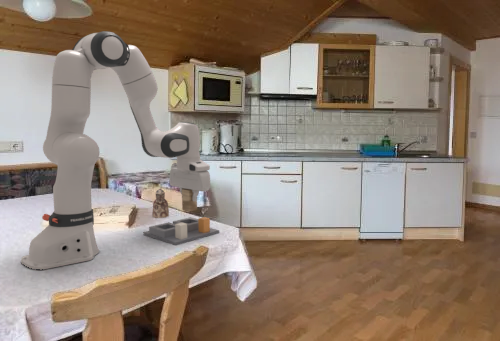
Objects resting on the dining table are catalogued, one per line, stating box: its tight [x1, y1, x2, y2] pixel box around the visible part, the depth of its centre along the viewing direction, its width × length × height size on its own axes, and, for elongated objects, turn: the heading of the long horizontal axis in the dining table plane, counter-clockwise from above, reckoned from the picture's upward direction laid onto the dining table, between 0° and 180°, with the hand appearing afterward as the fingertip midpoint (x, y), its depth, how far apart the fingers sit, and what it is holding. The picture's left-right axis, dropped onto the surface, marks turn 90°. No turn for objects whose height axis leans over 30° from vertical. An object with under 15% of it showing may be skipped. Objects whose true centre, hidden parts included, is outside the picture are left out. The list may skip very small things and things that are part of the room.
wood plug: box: [181, 189, 198, 212], centre depth 164 cm, size 4×4×8 cm
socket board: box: [143, 216, 220, 246], centre depth 160 cm, size 21×19×6 cm
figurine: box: [151, 188, 170, 219], centre depth 187 cm, size 7×7×12 cm
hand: (189, 200), depth 164 cm, fingers closed on wood plug, 4 cm apart
